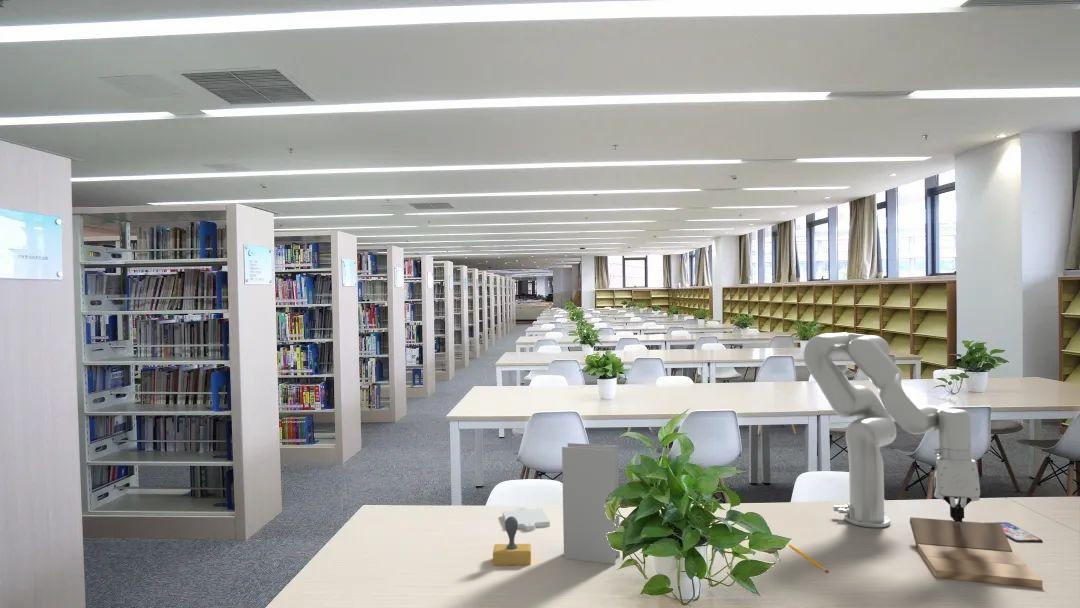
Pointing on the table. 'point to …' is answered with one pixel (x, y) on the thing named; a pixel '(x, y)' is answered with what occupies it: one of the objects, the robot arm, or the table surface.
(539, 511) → the mounting plate
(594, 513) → the brochure
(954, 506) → the robot arm
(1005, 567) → the laid floor
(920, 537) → the walnut plank
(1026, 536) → the smartphone
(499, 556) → the rubber stamp
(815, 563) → the pencil
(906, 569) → the table surface
